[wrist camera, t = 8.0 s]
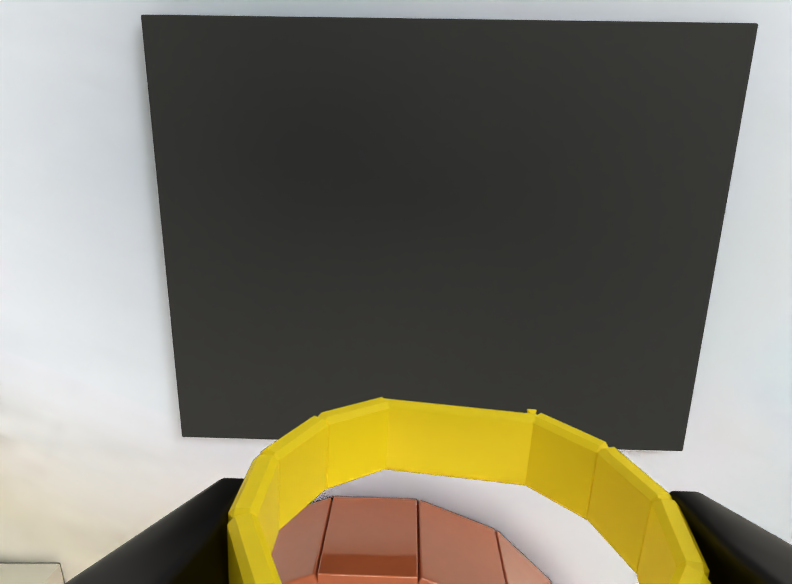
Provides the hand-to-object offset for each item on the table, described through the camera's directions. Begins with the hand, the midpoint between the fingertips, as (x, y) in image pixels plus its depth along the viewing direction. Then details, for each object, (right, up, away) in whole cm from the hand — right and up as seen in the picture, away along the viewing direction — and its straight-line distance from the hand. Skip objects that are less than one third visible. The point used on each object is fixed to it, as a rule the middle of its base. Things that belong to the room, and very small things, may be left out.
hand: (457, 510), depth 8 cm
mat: (0, +5, +11) cm, 12 cm away
